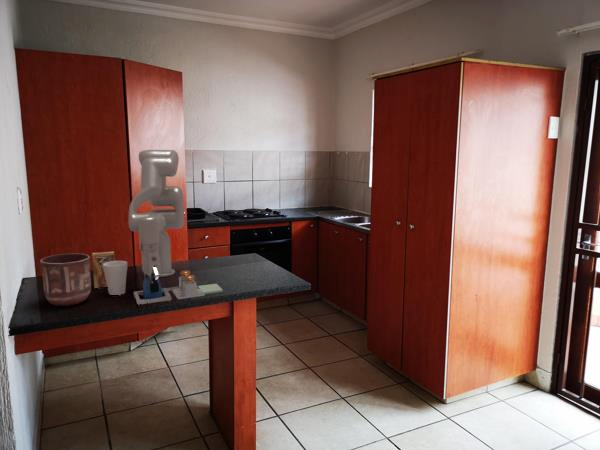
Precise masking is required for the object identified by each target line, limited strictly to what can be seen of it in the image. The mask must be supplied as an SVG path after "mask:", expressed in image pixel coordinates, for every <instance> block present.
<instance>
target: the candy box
mask: <svg viewBox="0 0 600 450" xmlns="http://www.w3.org/2000/svg"><path fill="white" fill-rule="evenodd" d="M91 259H92V260H91V261H92V273H93V286H94V287H93V288H94V289H95V288H98V289H100V288H99V287H107V283H106V278H105V273H104V271H103V264H104V263H106V262H111V261H116V259H115V251H103V252H92V254H91Z"/></svg>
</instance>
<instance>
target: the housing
mask: <svg viewBox="0 0 600 450" xmlns="http://www.w3.org/2000/svg"><path fill="white" fill-rule="evenodd" d="M197 286H198V284H197V282H196V281H195V280H194V279H193V283H189V284H186V280H185V279H182V275H180V276H178V286H173V287H172V286H171V287H161V290H162V293H163V294H164V296H162V297H156V298H149V299H145V298H143V299H142V298H140V296H139V295H141V296H144V294H143V290H139V291H137V290H136V291H133V297H134V299H136V300H135V301H136V305H137V304H138V306H139V305H140V304H141V305H146V304H147V303H148V304H154V303H161V302H167V301H168V302H169V301H172V296H171V294H170V292H172V293H173V295H174V296H175V297H176V299H177V300H184V299H190V298H198V297H199V298H200V297H204V296H205V295H206V294H204V293H203V291H200V292H202V293H199V292H198V291H197V290H198V288H199V287H197ZM199 289H200V288H199ZM200 290H201V289H200Z"/></svg>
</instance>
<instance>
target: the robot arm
mask: <svg viewBox="0 0 600 450" xmlns="http://www.w3.org/2000/svg"><path fill="white" fill-rule="evenodd" d="M138 160H139V163H140V166H141V178H140V180H141V181H140V191H139V192H138V193H137V194H136V195H135V196H134V197H133V199H132V200H131V202H130V204H129V209H128V227H129V229H130V231H131V232H133V233H134V232H135V233H138V241H139V243H138V244H139V252H141V268H142V272H143V278H144V279H145V277H148V276H150V280H151V283H150V290H151V293H155V292H159V281H160V280H158V279H160V278H163V277H169V276H172V275H174V274H175V273H176V270H175V269H174V268H172V253H171V252H172V251H171V250H172V249H171V238H170V235H169V234H168V232H166V231H165V230H171V229H172V230H173V229H174V230H175V229H177V230H178V229H182V228H183V227H184V226H185V205H184V193H183V190H182V188H181V187H180V186H177V185H175V186H174V185H171V186H170V185H169V186H168V185H167V177H169V178H171V177H175V176H176V175H177V171H178V169H179V160H180V158H179V155H178V152H177V151H176V150H174V149H144V150H142V151H139V153H138ZM147 201H148V202H149V205H150V206H152V207H173V208H159V209H158V208H156V209H151V210H149V211H148V212H147V213H137V211H138V208H140V206H141V205H142V204H144V203H146V202H147ZM151 274H154V275H151ZM152 277H154V278H153V279H152Z"/></svg>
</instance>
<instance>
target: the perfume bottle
mask: <svg viewBox="0 0 600 450" xmlns="http://www.w3.org/2000/svg"><path fill="white" fill-rule="evenodd" d="M151 275H154V274H151ZM153 278H154V277H152V279H153ZM159 279H160V278H159ZM159 279H158V280H159ZM150 283H151V280H150V276H148V277H145V278H144V280H143V281H142V289H143V290H142V291H143V294H144V295H143V299H149V298H156V297H163V294H162V290H161V288H162V283H161V281H160V280H159V292H155V293H151V290H150Z"/></svg>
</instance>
